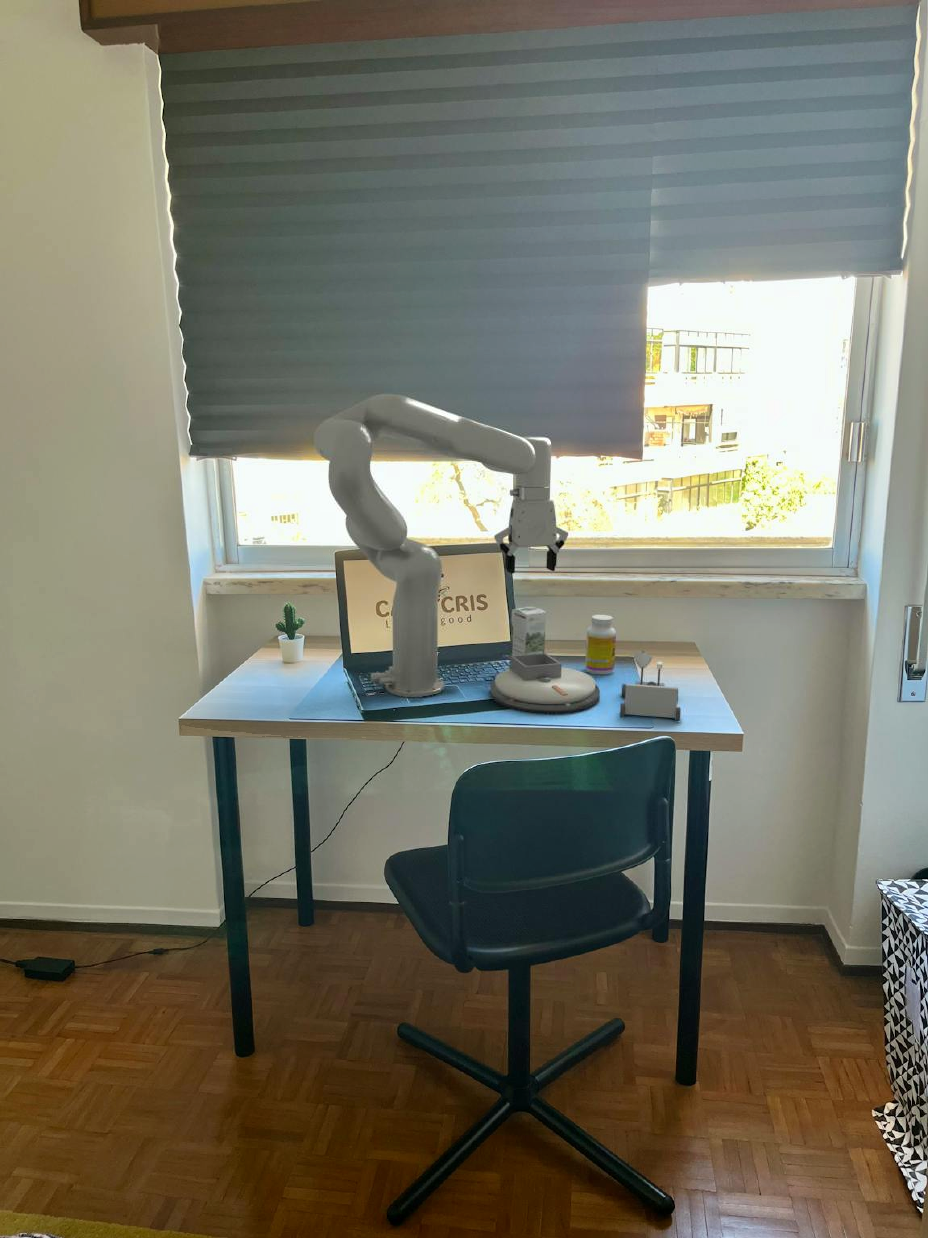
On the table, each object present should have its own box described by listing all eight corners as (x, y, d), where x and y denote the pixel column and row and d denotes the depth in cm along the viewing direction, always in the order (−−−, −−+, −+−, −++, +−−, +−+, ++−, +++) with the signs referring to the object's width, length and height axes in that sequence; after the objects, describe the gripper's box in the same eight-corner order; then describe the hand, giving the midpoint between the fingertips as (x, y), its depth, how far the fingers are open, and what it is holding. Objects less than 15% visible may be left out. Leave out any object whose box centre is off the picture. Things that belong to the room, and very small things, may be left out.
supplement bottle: (615, 676, 205) (619, 621, 202) (586, 675, 205) (589, 620, 202) (611, 667, 212) (614, 613, 208) (583, 666, 212) (585, 613, 208)
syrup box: (528, 665, 212) (530, 605, 208) (544, 672, 207) (546, 610, 203) (509, 669, 209) (510, 608, 205) (524, 676, 204) (526, 613, 200)
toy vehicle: (624, 647, 194) (679, 651, 191) (621, 691, 196) (676, 695, 194) (622, 672, 176) (683, 676, 174) (619, 720, 179) (679, 724, 177)
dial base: (514, 719, 177) (514, 710, 177) (475, 683, 198) (475, 675, 198) (619, 707, 184) (619, 699, 184) (570, 674, 206) (571, 666, 205)
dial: (612, 698, 185) (614, 677, 183) (517, 708, 178) (518, 686, 177) (568, 668, 204) (569, 649, 203) (481, 676, 197) (481, 657, 196)
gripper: (501, 497, 192) (500, 576, 196) (576, 494, 197) (573, 572, 201) (489, 493, 199) (488, 570, 203) (561, 491, 204) (559, 565, 208)
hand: (530, 571), depth 202 cm, fingers open, 9 cm apart
